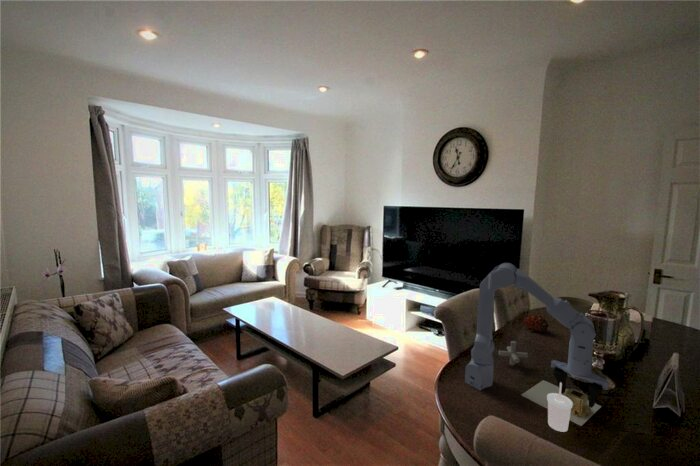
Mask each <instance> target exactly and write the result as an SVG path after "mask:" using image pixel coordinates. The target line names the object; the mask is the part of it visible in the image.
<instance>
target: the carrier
mask: <svg viewBox="0 0 700 466" xmlns="http://www.w3.org/2000/svg"><path fill="white" fill-rule="evenodd" d="M569 389H570V388H566V390H565V393H563V394H562V395H564V396H566V392H567V391H568V390H569ZM549 393H558V394H559V386H557V385H556V384H553V383H551V382H548V381H546V380H541V381H539V383H536V384H535V385H533V386H532V387H531V388H529V389H528V390H526V391H525V392H523V393H521V396H522V397H523V398H526V399H528V400H530V401H531V402H534V403H535V404H537V405H539V406H541V407H542V408H543V407H544V408H545V409H547V410H548V401H547V395H548V394H549ZM587 405H588V406H589V400H588V399H587ZM590 408H591V407H590ZM601 408H602V405H600V404H597V403H595V404H594V406H593V407H592V408H591V415H590V416H589V417H587V416H586V417H578V416H577V415H576V414H575V415H572V414H570V419H569V422H572V423H574V424H576V425H577V426H580V427H582V426H583V425H584V424H585V423H586V422H587V421H588V420H589V419H591V417H592V416H594V414H596V412H598V411H599V410H600V409H601Z"/></svg>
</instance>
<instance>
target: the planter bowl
mask: <svg viewBox="0 0 700 466" xmlns="http://www.w3.org/2000/svg"><path fill="white" fill-rule="evenodd" d="M557 298H560V299H562V300H563V301H565V300H567V301H568V302H569V303H570V306H571V307H572V308H574V309H575V310H576V311H577V312H579V313H582V314H584V316H585V313H586V312H587V311H589V309H590V308H591V307H592V305H593V304H595V303H594V302H593V301H590V300H587V299H586V298H585V299H584V298H580V297H574V296H558V297H557Z"/></svg>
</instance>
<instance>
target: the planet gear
mask: <svg viewBox="0 0 700 466" xmlns="http://www.w3.org/2000/svg"><path fill="white" fill-rule="evenodd" d="M568 389H569V390H568V391H567V392H566V397H568V398H569V399H570V400H571V401H572V402H573V406H572V408H571V413H570V414H572V415H575V414H576V415H577V416H578V417H586V416H587V417H589V416H590V415H591V408H590V407H589V406H588V405H587V400H588V395H589V394H587V393H585V392H582V391H581V390H578V389H576V388H572V387H571V388H568Z"/></svg>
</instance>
